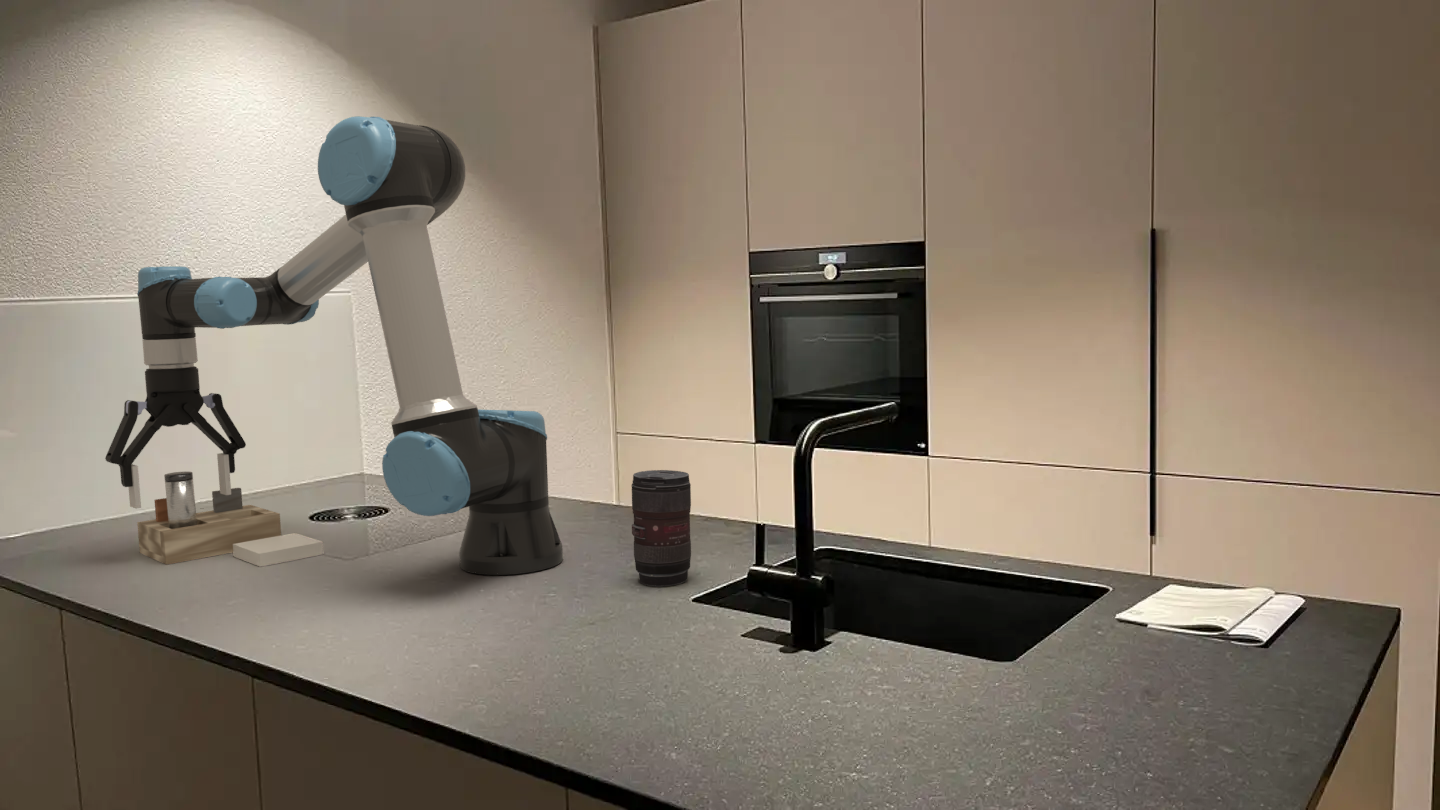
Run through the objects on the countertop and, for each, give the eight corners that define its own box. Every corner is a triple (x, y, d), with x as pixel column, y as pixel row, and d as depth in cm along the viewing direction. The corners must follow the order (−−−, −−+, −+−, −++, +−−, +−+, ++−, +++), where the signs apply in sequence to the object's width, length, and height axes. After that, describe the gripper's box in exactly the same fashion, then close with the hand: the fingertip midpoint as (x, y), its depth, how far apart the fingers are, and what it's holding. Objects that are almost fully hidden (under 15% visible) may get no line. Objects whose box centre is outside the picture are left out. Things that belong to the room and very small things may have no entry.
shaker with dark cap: (202, 547, 178) (196, 473, 176) (176, 552, 175) (169, 476, 174) (193, 544, 181) (187, 470, 179) (167, 548, 178) (160, 474, 176)
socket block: (281, 543, 184) (278, 492, 183) (166, 564, 171) (161, 510, 171) (251, 533, 193) (248, 484, 192) (139, 552, 180) (135, 500, 179)
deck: (323, 554, 176) (322, 541, 175) (260, 566, 169) (259, 553, 168) (295, 545, 183) (294, 533, 182) (233, 556, 176) (232, 544, 175)
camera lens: (685, 589, 150) (682, 478, 149) (627, 587, 152) (623, 478, 150) (699, 573, 158) (696, 468, 156) (643, 572, 160) (640, 468, 158)
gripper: (242, 360, 186) (251, 486, 188) (75, 371, 169) (87, 509, 171) (261, 361, 181) (270, 491, 183) (90, 373, 163) (103, 516, 166)
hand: (181, 500), depth 177 cm, fingers open, 13 cm apart
